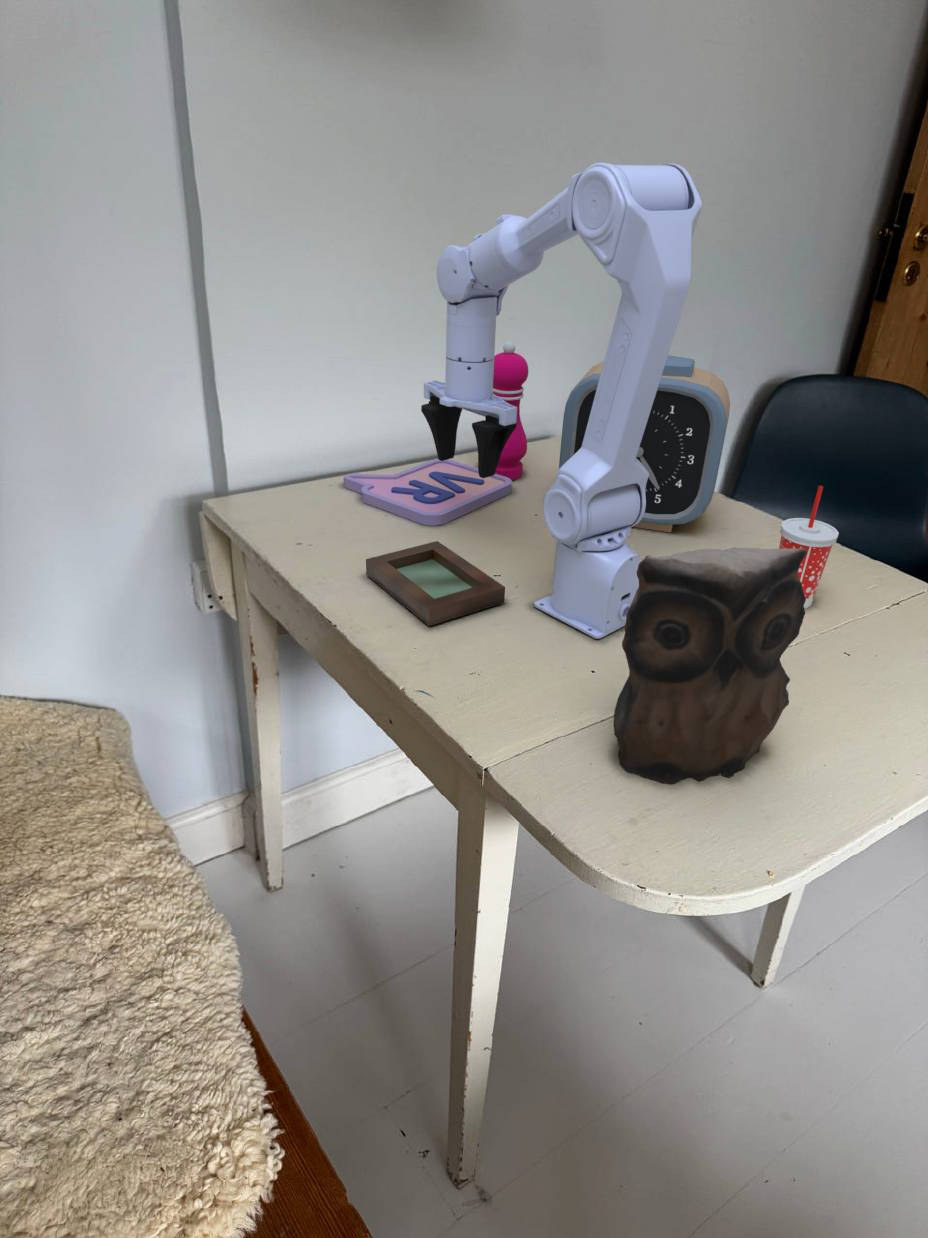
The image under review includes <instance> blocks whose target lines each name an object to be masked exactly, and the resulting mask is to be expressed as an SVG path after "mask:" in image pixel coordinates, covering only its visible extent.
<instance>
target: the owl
mask: <svg viewBox="0 0 928 1238" xmlns="http://www.w3.org/2000/svg"><path fill="white" fill-rule="evenodd" d="M806 553H807V551H806V549H804V548H800V549H796V548H792V549H785V548H784V549H779V548H757V547H734V546H733V547H729V548H726V549H719V548H718V549H717V548H716V549H715V548H713V549H712V548H704V549H697V550H690V551H683V552H677V553H673V554H669V555H663V556H656V557H653V556H652V555H651V554H650V555H645V557H643V561H641V562H640V563H639V565H638V569H637V577H638V579H639V587H638V589H637V591H636V594H635V596H634V598H633V601H632V603H631V605H630V607H629V609H628V612H627V614H626V624H625V626H624V636H623V639H622V641H621V646H622V650H623V652H624V654H625V658H626V662H627V667H628V670H629V674H628V677H627V679H626V681H625V683H624V685H623V687H622V689H621V691H620V693H619V695H618V697H617V700H616V705H615V707H614V713H613V735H614V737H615V738H616V740H617V743H618V751H617V756H618V759H619V765H620V766H621V768H622V769H623V770H624V771H625V772H627V773H629V774H633V775H636V776H640V777H641V778H644V779H648V780H651V781H655V782H657V783H658V782H659V783H660V784H668V785H675V784H678V783H679V782H681V781H682V780H686V779H688V778H691V779H693V780H696V781H697V782H703V781H705V780H706V779H708V778H710V777H715V776H716V777H717V776H719V775H721V776H722V777H726V778H729V779H730V778H732V777H734V776H735V774H736V773H739V772H741V771H743V770H745V767H746V764H747V762H748V761H749V760H750V759H751V758H752V757H754V756H755V755H756V754H758V753H759V752H760V750H761V745H762V743H763V742H764V740H766V738H767V737H768V736H769V735H770V734H771V732H772V731H773V730H774V729H775V727H776V725H777V724H778V721H779V720H780V717H781V716H782V713H783V711H784V710H785V709H786V708H787V706H789V704H790V700H789V691H788V689H787V686H788V684H789V683H790V681H791V678H790V677H789V675H788V674H787V673H786V670H785V668H784V666H783V664H782V662H781V657H782V655H784V653H785V651H786V650H787V649H788V647H789V646H790V645H791V643H793V642H794V641H795V640H796V639H797V638H798V636H799V634H800V630H801V627H802V624H803V622H804V618H805V615H806V610H805V608H804V604H805V601H806V598H805V594H804V592H803V589H802V584H801V581H800V579H799V577H798V570H799V567H800V564H801V562H802V560H803V559H804V557H805V555H806Z"/></svg>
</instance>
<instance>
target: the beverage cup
mask: <svg viewBox="0 0 928 1238" xmlns="http://www.w3.org/2000/svg"><path fill="white" fill-rule="evenodd" d="M823 489H824V486H823V485H818V486H817V491H816V495H815V499H814V502H813V506H812V510H811V513H810V517H809V518H805V517H794V518H792V517H791V518H787V519H785V520H782V522H781V524H780V530H779V533H780V540H779V547H778V549H784V548H785V549H792V548H796V549H800V548H804V549H806V551H807V553H806V555H805V557H804V559H803V560H802V562H801V564H800V567H799V570H798V577H799V579H800V581H801V584H802V589H803V592H804V594H805V598H806V601H805V604H804V609H809V607H811V606H812V603H813V600H814V599H815V595H816V592H817V589H818V586H819V584H820V581H821V578H822V576H823V573H824V570H825V568H826V564H827V561H828V559H829V556H830V553H831V552H832V551H831V550H832V548H833V546H834V545H835V544H836V543H837V540H838V537H839V535H840V532H839V531H838V529H836V528H835V527H834V526H833V525H831V524H829V523H826V522H824V521H821V520H817V519H816V515H817V512H818V508H819V504H820V501H821V497H822V493H823Z"/></svg>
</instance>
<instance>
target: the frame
mask: <svg viewBox="0 0 928 1238" xmlns="http://www.w3.org/2000/svg"><path fill="white" fill-rule="evenodd" d="M365 575H366V576H368V577H369V578H371V580H373V581H374V582H375V583H377V585H379V586H380V587H381V588H382V589H384V590H385V591H386V592H387V593H389V595H391V596H392V597H393V598H395V599H396V600H397V601H398V602H399V603H400V604H401V605H403V606H404V607H405V608H406V609H408V610H409V611H411V613H413V614H414V615H415V616H416V617H418V618H419V619H420V620H421V621H423V622H424V623H425V624H426V625H427V626H429V627H430V626H434V625H437V624H440V623H444V622H447V621H450V620H453V619H456V618H459V617H462V616H465V615H469V614H472V613H475V612H477V611H482V610H485V609H489V608H491V607H495V606H497V605H501V604H505V597H506V587H505V585H504V584H501V582H499V581H497V580H495V579H494V578H493V577H491V576H490V575H488V574H487V573H485V572H484V571H483V570H481V569H480V568H478V567H476V566H475V565H473V564H472V563H471V562H469V561H468V560H466V559H465V558H463V557H462V556H460V555H459V554H458V553H456V552H454V550H451V549H450V548H449V547H447V546H446V545H445V544H442V543H441V542H439V541H438V540H436V541H431V542H428V543H424V544H420V545H416V546H412V547H408V548H404V549H400V550H397V551H392V552H388V553H384V554H381V555H376V556H372V557H368V558H365Z"/></svg>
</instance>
